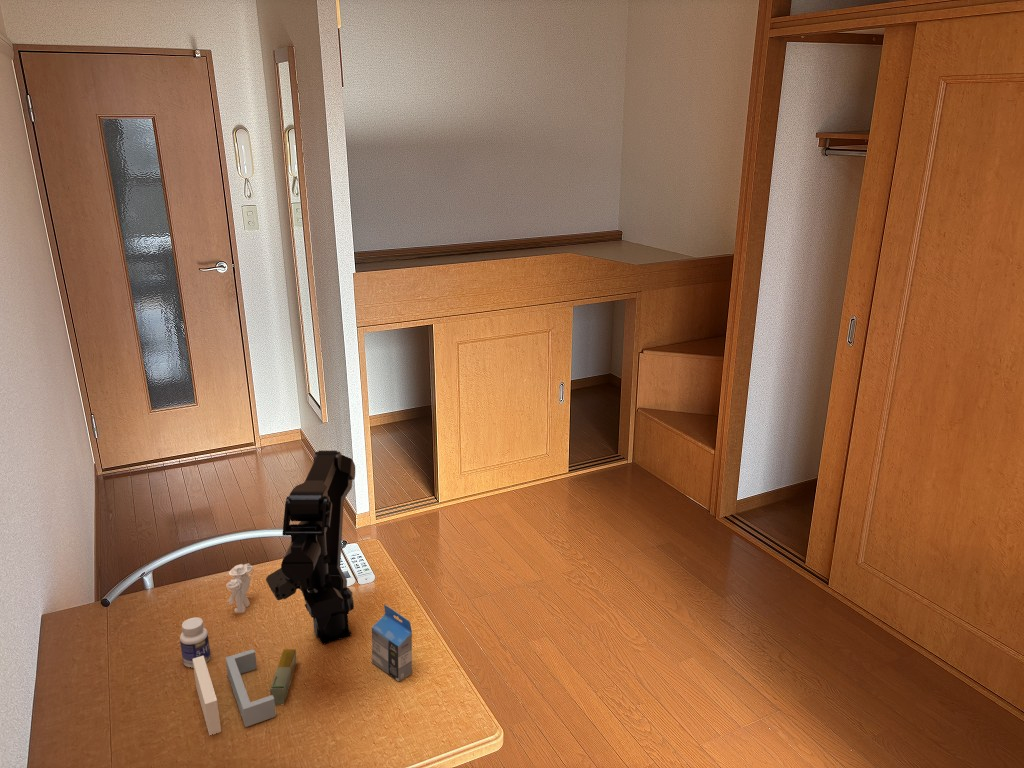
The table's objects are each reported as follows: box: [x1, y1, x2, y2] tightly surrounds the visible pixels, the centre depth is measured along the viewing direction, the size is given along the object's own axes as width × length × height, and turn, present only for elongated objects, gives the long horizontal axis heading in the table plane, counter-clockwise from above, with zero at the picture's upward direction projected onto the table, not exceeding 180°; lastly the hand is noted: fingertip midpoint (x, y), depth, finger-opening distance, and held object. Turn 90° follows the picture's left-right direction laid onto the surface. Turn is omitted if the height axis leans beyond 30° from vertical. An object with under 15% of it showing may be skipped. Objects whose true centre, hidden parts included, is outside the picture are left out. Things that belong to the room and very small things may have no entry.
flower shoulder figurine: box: [225, 562, 254, 614], centre depth 170 cm, size 9×4×12 cm, turn 173°
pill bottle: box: [179, 616, 211, 669], centre depth 153 cm, size 5×5×9 cm
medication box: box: [269, 648, 297, 706], centre depth 148 cm, size 12×3×4 cm, turn 5°
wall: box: [193, 656, 222, 737], centre depth 140 cm, size 2×14×7 cm, turn 30°
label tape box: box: [371, 604, 413, 682], centre depth 151 cm, size 9×4×12 cm, turn 47°
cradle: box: [225, 648, 277, 728], centre depth 144 cm, size 6×16×4 cm, turn 31°
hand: (316, 620), depth 148 cm, fingers open, 6 cm apart
